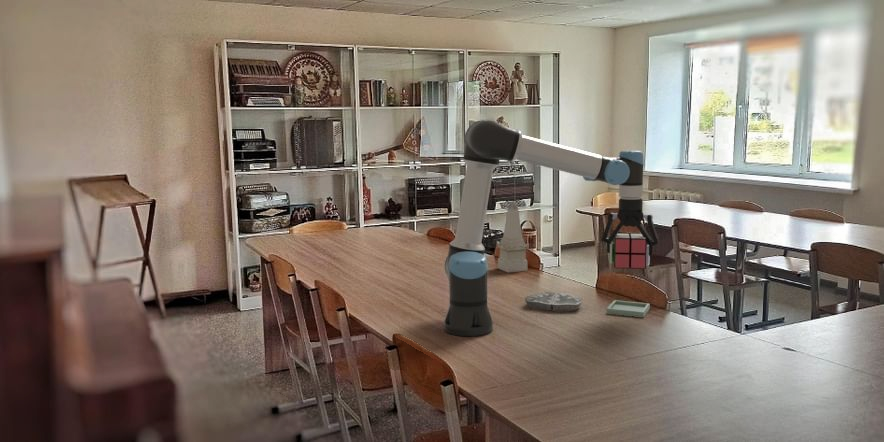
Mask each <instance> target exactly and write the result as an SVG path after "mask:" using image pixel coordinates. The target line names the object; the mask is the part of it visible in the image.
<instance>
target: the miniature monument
mask: <svg viewBox="0 0 884 442" xmlns="http://www.w3.org/2000/svg"><path fill="white" fill-rule="evenodd" d="M522 232H523V231H522V226H521V219H520V211H519V206H518V205H517V204H516V203H515V202H514V201H511V203H509V204H508V206H507V209H506V216H505V223H504V231H503V234H502V235H503V236H502V237H501V240H500V241H498V240H496V248H498V249H499V257H498V258H497V269H499V270H501V271H503V272H506V273H515V272H516V273H517V272H526V271H528V269H529V268H528V264H529V263H528V260H527V255H526V254H527V250H529V249H530V243H529V242H528V243H527V242H525V238H523V233H522Z"/></svg>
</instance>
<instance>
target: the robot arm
mask: <svg viewBox="0 0 884 442" xmlns="http://www.w3.org/2000/svg"><path fill="white" fill-rule="evenodd" d="M462 160H463V162H464V164H465V166H466V168H465V176H464V179H463V180H464V181H463V189H462V194H461V199H460V200H461V201H460V207H459V212H458V218H457V225H456V231H455V232H456V233H455V238H454V239H453V240H452V241H450V242H449V246H448V253H447V256H446V258H445V261H444V270H445V274H446V276H447V278H448V281H449V282H448V283H449V285H448V286H449V291H448V292H449V306H448V309H447V312H446V315H445V320H444V321H443V330H444V331H445V332H446V333H447V334H450V335H453V336H460V337H479V336H484V335H487V334H490V333H491V332H493V330H494V321H493V319H492V315H491V312H490V310H489V307H488V306H489V305H488V267H489V265H488V261H487V257H486V256H485V251H486V248H485V246H484V245H483V243H482V241H483V234H484V228H485V222H486V217H487V210H488V204H489V203H488V202H489V198H490V190H491V184H492V181H493V180H492V178H493V173H494V170H495V169H496V168H497V167H499V165H500V160H503V161H507V162H513V161H517V160H518V161H521V162H524V163H529V164H533V165H537V166H540V167H544V168H548V169H553V170H555V171H561V172H564V173H567V174H570V175H571V174H572V175H575V176H580V177H583V180H585V182H587V181H588V182H602V183H607V184H609V185H612V186H618V197H619V199H618V212H615V213H614V212H610V213H609V214H608V220H607V223H606V226H605V228H604V232H603V234H602V236H601V240H600V241H602V242H605V243H606V252H607V254H609V264H614V237H615V235H617V234H619V232H620V231H621V229H622V228H623V227H633V228H634V227H636V228H637V229H638V231H639V233H640V234H642V235H643V237H645V238H646V239H647V246H646V267H648V266H650V264H651V257H652V256H653V254H654V246H655V245H658V244H659V243H660V239H659V236H658V233H657V230H656V228H655V227H656V226H655V225H654V222H653V217H654V216H653V214H652V213H649V214H644V212H643V206H644V203H643V199H642V198H643V197H644V194H643V193H644V183H643V182H644V166H645V164H644V154H643V151H641V150H632V149H631V150H620V152H619V154H618V156H615V157H613V156H612V157H611V156H609V157H608V156H603V155H600V154H598V153H597V154H596V153H592V152H589V151H584V150H583V149H582V150H581V149H578V148H573V147H569V146H566V145H563V144H558V143H555V142H550V141H546V140H543V139H540V138H535V137H532V136H528V135H524V134H522V132H521V130H519V129H515V128H511V127H509V126H506V125H504V124H502V123H499V122H497V121H495V120H488V119H481V120H476V121H475V122H474V123H472V124H471V125H470V126H469V127H468V128H467V130H466V131H465V134H464V151H463V156H462ZM616 219H617V220H619V223H618V225H617V226H616V227H615V228H614V230H613V232H612V233H611V234H610V231H611V229H612V226H613V223H614V220H616ZM643 219H644V220H645V221H646V223H647V226H648V228H649V231H650V235H651V236H650V235H649V233H648V232H647V230H646V228H645V227H644V225H643V223H642V222H641V221H643ZM609 234H610V236H609ZM651 237H652V238H651Z"/></svg>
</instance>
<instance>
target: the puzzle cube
mask: <svg viewBox="0 0 884 442" xmlns="http://www.w3.org/2000/svg"><path fill="white" fill-rule="evenodd" d="M613 243H614V262H613V267H614V269H626V270H627V269H628V270H629V269H630V270H631V269H632V270H646V269H647V266H646V246H647V245H648V243H647V239H646V238H645V237H643V235H642V234H641V233H618V234H617V235H615V237H614V239H613Z"/></svg>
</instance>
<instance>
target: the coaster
mask: <svg viewBox="0 0 884 442" xmlns="http://www.w3.org/2000/svg"><path fill="white" fill-rule="evenodd" d="M650 306H651V304H650V303H647V302H636V301H629V300H628V301H626V300H616V299H615V300H613V301H612V302H611V303H610V304H609V305H608V307H607V308H606V315H614V314H615V316H623V315H624V317H632V316H634V318H635V317H636V318H642V317H643V319H644V318H645V316H646V315H647V313H648V312H649V310H650V308H651V307H650Z"/></svg>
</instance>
